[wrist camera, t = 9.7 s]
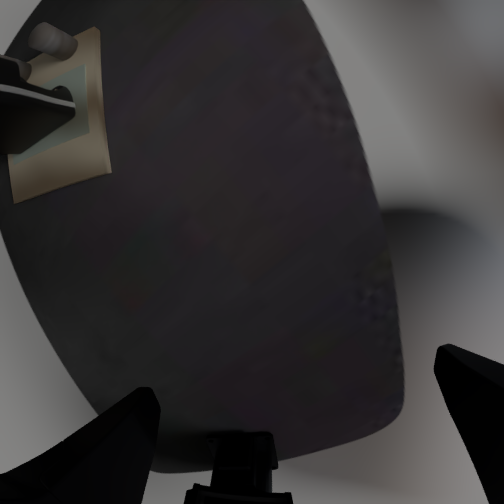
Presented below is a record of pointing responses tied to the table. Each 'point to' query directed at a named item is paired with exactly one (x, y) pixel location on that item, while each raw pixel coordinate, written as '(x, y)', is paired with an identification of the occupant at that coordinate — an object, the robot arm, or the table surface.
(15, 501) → the robot arm
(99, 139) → the peg board
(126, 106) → the table surface
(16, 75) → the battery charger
